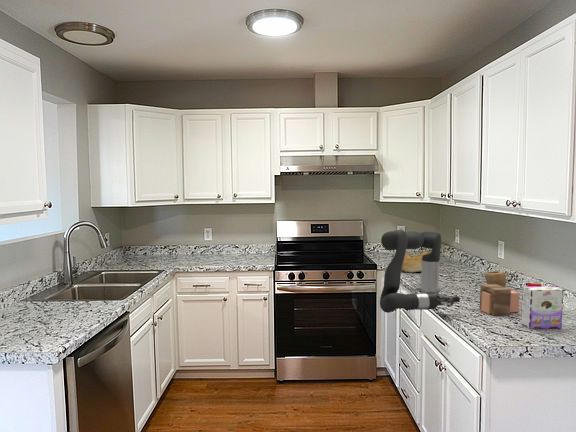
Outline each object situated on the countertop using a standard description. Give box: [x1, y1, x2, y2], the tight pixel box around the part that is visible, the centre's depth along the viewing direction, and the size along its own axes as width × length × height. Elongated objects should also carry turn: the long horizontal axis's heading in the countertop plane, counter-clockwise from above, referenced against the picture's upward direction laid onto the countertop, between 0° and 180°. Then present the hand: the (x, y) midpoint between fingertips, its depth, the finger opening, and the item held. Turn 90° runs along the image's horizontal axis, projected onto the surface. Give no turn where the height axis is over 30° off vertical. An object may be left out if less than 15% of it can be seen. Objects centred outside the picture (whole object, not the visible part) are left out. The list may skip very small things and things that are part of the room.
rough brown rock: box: [401, 250, 432, 273], centre depth 274 cm, size 23×17×15 cm
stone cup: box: [484, 270, 507, 287], centre depth 204 cm, size 15×12×15 cm
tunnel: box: [479, 283, 512, 317], centre depth 183 cm, size 10×8×12 cm
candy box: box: [520, 286, 564, 329], centre depth 164 cm, size 14×6×16 cm, turn 92°
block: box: [480, 289, 521, 315], centre depth 183 cm, size 5×16×9 cm, turn 102°
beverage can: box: [526, 280, 543, 287], centre depth 193 cm, size 6×6×12 cm
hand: (458, 299), depth 179 cm, fingers closed
